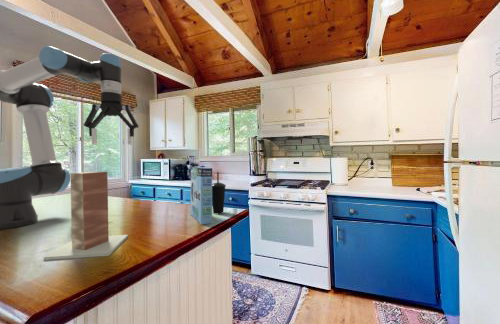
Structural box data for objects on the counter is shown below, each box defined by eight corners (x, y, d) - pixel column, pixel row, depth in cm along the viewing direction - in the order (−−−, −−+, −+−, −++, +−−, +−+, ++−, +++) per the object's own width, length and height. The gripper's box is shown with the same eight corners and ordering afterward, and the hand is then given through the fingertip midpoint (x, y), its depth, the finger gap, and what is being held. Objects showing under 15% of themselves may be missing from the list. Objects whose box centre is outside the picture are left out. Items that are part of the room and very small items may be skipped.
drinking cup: (207, 214, 116) (206, 172, 115) (215, 210, 123) (215, 171, 122) (221, 215, 113) (221, 172, 112) (228, 211, 120) (228, 171, 120)
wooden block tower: (72, 248, 70) (70, 173, 70) (96, 239, 78) (94, 171, 78) (85, 250, 69) (83, 173, 69) (108, 240, 77) (107, 171, 76)
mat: (43, 260, 64) (43, 257, 64) (76, 239, 80) (76, 237, 80) (108, 255, 67) (108, 252, 67) (127, 236, 83) (127, 234, 83)
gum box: (190, 214, 114) (190, 166, 114) (201, 213, 117) (200, 166, 116) (200, 225, 97) (200, 168, 96) (213, 223, 99) (212, 167, 99)
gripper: (73, 89, 95) (74, 143, 95) (140, 92, 99) (141, 144, 99) (82, 94, 102) (83, 144, 102) (145, 96, 106) (146, 145, 107)
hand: (112, 144), depth 101 cm, fingers open, 13 cm apart
